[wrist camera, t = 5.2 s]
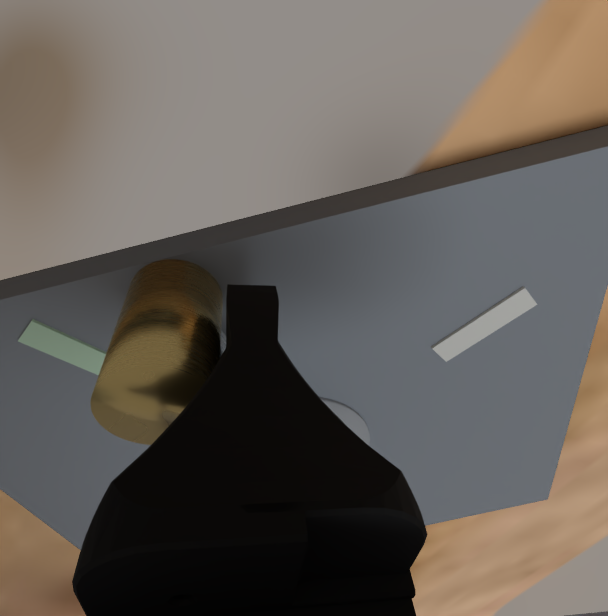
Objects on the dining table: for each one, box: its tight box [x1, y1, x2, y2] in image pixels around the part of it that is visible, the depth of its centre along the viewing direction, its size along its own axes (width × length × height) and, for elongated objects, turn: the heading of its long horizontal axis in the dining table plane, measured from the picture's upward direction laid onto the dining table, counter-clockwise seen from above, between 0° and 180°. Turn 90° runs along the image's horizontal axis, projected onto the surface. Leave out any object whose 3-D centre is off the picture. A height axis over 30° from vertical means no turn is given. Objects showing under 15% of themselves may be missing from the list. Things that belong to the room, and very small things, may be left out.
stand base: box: [0, 126, 608, 550], centre depth 19 cm, size 20×24×1 cm
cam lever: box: [90, 259, 226, 445], centre depth 14 cm, size 13×5×4 cm, turn 21°
